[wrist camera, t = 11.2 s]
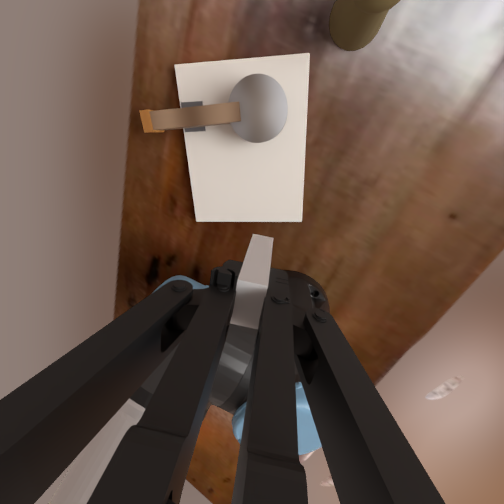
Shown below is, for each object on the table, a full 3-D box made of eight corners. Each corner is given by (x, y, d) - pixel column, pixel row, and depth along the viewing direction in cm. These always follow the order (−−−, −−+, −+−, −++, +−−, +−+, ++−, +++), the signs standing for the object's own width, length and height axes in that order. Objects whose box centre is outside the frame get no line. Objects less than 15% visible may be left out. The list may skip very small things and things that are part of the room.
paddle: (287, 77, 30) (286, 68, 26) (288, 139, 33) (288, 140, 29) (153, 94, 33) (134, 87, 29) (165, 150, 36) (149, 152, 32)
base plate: (301, 218, 40) (301, 222, 38) (199, 218, 42) (196, 221, 40) (308, 56, 31) (309, 52, 29) (179, 67, 33) (174, 64, 32)
